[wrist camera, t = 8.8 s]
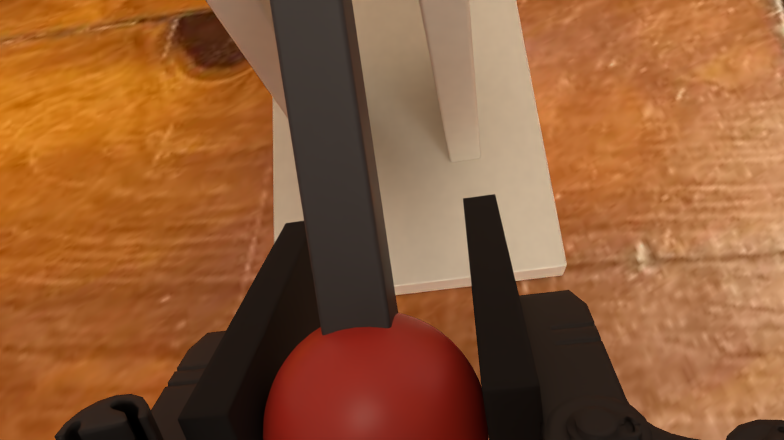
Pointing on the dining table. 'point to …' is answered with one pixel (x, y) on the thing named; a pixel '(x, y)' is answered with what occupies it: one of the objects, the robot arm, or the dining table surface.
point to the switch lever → (354, 265)
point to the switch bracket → (431, 131)
